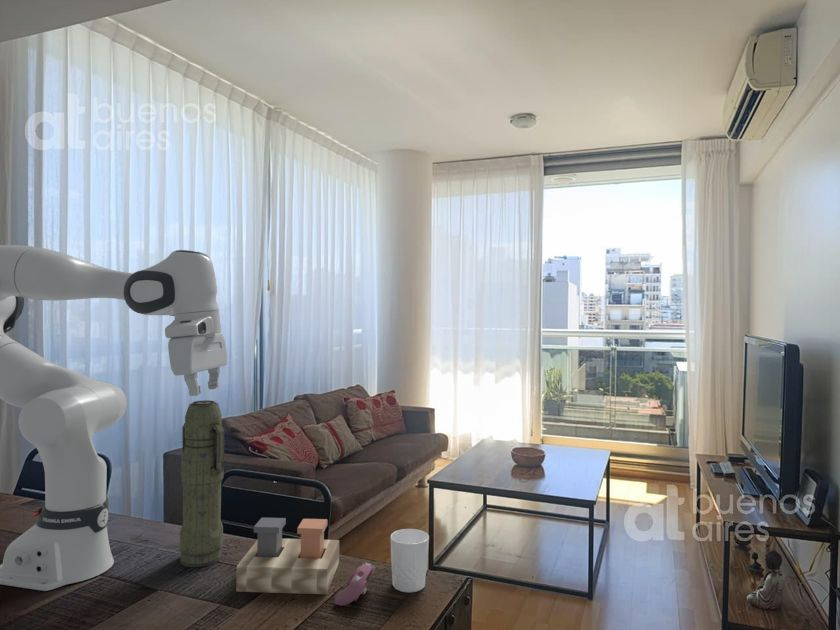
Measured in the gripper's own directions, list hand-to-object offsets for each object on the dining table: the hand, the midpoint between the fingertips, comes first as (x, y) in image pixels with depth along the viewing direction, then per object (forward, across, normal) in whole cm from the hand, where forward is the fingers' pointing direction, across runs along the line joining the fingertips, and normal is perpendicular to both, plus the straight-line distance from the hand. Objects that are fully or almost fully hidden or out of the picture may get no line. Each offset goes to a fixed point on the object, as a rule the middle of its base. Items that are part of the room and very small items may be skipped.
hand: (204, 392), depth 118 cm
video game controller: (+42, +7, +29) cm, 52 cm away
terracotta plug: (+36, 0, +19) cm, 41 cm away
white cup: (+43, +2, +39) cm, 58 cm away
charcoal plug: (+35, 0, +10) cm, 37 cm away
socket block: (+40, 0, +14) cm, 43 cm away
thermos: (+38, -7, -8) cm, 39 cm away
